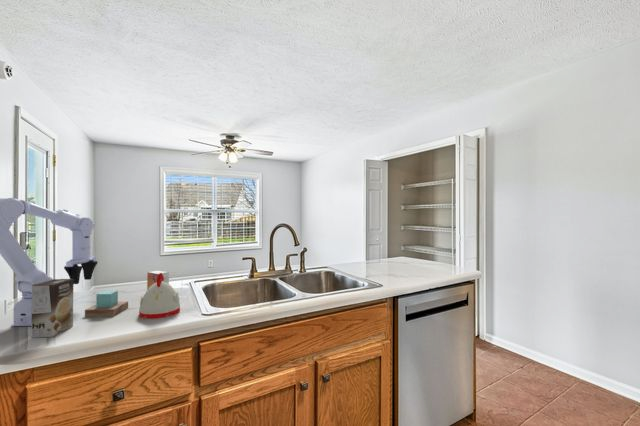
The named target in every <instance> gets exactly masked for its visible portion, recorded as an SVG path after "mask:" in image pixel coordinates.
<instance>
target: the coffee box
mask: <svg viewBox="0 0 640 426" xmlns="http://www.w3.org/2000/svg"><path fill="white" fill-rule="evenodd" d="M53 279H54V278H53ZM73 282H74V279H70V278H60V279H59V278H56V279H54V280H50V281H46V282H42V283H38V284H35V285H32V322H31V327H30V328H31V330H30V334H31V335H30V337H31V338H52V337H55V336H57V335H58V334H61V333H62V332H65V331H66V330H69V329H71V328H72V327H73V326H74V284H73Z"/></svg>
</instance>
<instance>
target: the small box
mask: <svg viewBox="0 0 640 426" xmlns="http://www.w3.org/2000/svg"><path fill="white" fill-rule="evenodd" d="M160 273H162V275H163V277H164V282H166V283H168V284H169V285H170V272H169V271H163V270H153V271H147V279H146V281H147V282H146V286H147V289H146V291H147V290H148V289H149V288H150V287H151V286H152V285H153V284H155V283H156V282H157V281H156V280H157V275H159V274H160Z"/></svg>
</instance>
